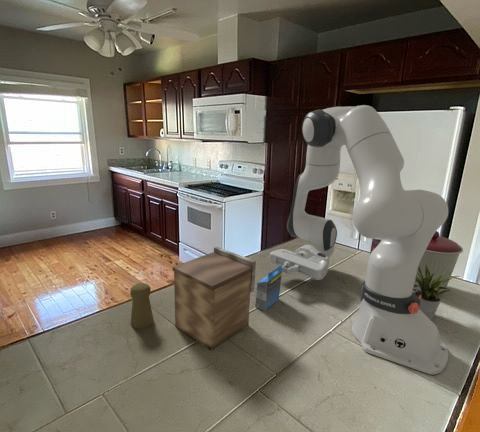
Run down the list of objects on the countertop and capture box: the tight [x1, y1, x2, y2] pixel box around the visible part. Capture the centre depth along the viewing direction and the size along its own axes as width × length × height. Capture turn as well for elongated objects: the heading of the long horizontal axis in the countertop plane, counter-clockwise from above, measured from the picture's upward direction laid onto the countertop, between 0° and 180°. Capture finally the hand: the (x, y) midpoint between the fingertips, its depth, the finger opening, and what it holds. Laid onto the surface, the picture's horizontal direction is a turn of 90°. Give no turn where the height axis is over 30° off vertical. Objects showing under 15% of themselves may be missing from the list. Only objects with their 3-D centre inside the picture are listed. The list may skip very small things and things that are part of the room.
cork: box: [129, 282, 154, 330], centre depth 84 cm, size 6×6×11 cm
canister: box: [413, 230, 464, 294], centre depth 109 cm, size 18×18×21 cm
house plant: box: [413, 263, 460, 320], centre depth 93 cm, size 14×14×16 cm
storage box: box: [173, 271, 251, 351], centre depth 83 cm, size 14×14×16 cm
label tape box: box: [254, 264, 283, 312], centre depth 95 cm, size 9×4×12 cm, turn 146°
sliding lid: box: [172, 246, 257, 293], centre depth 81 cm, size 14×16×9 cm
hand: (284, 270), depth 102 cm, fingers closed
